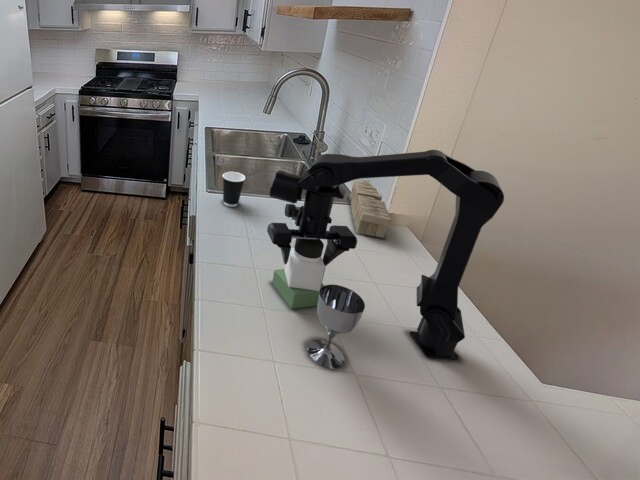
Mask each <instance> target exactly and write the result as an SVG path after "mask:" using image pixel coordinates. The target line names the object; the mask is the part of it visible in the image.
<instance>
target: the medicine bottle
mask: <svg viewBox="0 0 640 480" xmlns="http://www.w3.org/2000/svg"><path fill="white" fill-rule="evenodd" d="M294 242H295V243H294V246H291V250H290V254H289V259H288V262H287V264H284V267H283V269H284V271H285V275H286V278H287V282H288V286H289V287H292V288H300V289H307V290H314V291H320V288H321V284H323V279H324V276H325V272H326V269H327V268H326V266H325V265H324V263H323V257H322V256H323V251H324V247H325V244H324V242H323V241H322V239H298V238H295V241H294Z"/></svg>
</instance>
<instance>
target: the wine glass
mask: <svg viewBox="0 0 640 480" xmlns="http://www.w3.org/2000/svg"><path fill="white" fill-rule="evenodd" d="M365 308H366V304H365V301H364V300H363V298H362V297H361V296H360V295H359V294H358V293H357V292H355V291H354V290H352V289H350V288H348V287H346V286H343V285H339V284H325V285H324V286H323V287H322V288H321V289H320V291H319V295H318V300H317V305H316V315H317V319H318V320H319V322H320V323H321V325H322V326H323V327H324V329H325V330H326V332H327V337H326V340H322V339H313V340H311V341H310V342H309V343H308V344H307V346H306V351H307V353H308V356H309V357H310V358H311V359H312V360H313V361H314V362H315V363H316V364H318V365H319V366H321V367H323V368H325V369H330V370H338V369H341V368H342V367H343V366H344V365H345V362H346V361H345V356H344V354H343V353H342V351H341V350H340V349H339V348H338V347H337V346H336V345H335V344H333V343H332V342H333V340H334V338H335V337H336V336H337V335H344V334H348V333H350V332H352V331H354V329H355V328H356V327H357V326H358V325H359V323H360V321H361V319H362V317H363V315H364V311H365Z"/></svg>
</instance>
